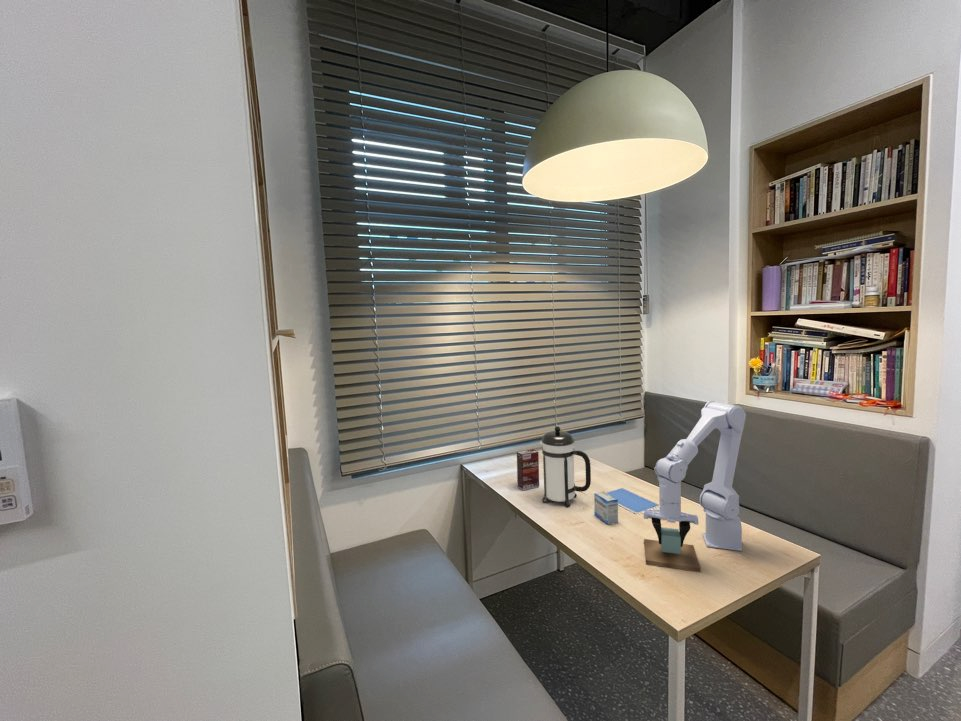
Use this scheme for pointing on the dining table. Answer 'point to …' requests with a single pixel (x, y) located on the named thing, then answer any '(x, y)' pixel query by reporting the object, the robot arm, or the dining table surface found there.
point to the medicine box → (606, 507)
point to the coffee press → (561, 467)
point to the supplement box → (527, 469)
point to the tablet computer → (632, 501)
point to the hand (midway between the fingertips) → (670, 543)
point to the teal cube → (670, 540)
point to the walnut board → (671, 556)
